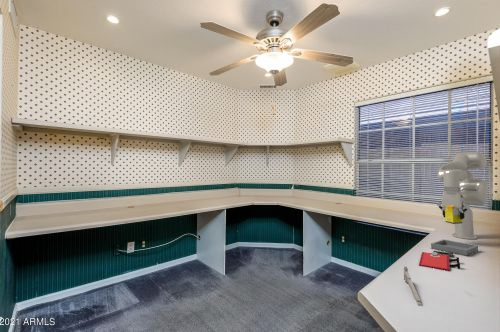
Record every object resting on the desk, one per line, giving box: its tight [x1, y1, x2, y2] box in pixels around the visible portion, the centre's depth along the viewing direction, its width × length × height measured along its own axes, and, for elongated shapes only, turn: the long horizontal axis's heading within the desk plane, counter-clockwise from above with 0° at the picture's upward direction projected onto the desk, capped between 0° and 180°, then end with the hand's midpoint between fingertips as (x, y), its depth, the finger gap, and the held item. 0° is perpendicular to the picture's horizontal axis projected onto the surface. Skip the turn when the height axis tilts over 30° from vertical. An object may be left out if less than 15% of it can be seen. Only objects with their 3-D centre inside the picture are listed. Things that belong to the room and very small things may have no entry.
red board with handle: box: [418, 250, 461, 272], centre depth 120 cm, size 30×3×15 cm
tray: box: [430, 239, 479, 257], centre depth 136 cm, size 16×16×3 cm
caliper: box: [403, 266, 422, 306], centre depth 88 cm, size 20×1×6 cm, turn 158°
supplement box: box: [444, 205, 462, 225], centre depth 149 cm, size 6×6×11 cm
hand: (453, 217), depth 149 cm, fingers closed on supplement box, 7 cm apart
